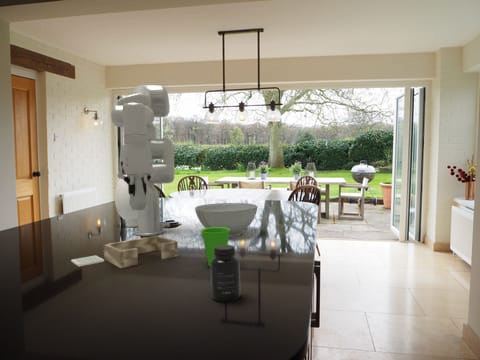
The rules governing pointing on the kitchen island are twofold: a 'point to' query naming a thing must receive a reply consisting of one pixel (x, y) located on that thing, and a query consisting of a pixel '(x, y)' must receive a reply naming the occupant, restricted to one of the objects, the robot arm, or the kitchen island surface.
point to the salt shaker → (138, 194)
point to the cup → (214, 240)
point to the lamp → (125, 204)
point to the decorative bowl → (227, 216)
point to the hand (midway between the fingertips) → (137, 195)
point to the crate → (138, 250)
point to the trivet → (87, 260)
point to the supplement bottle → (225, 274)
